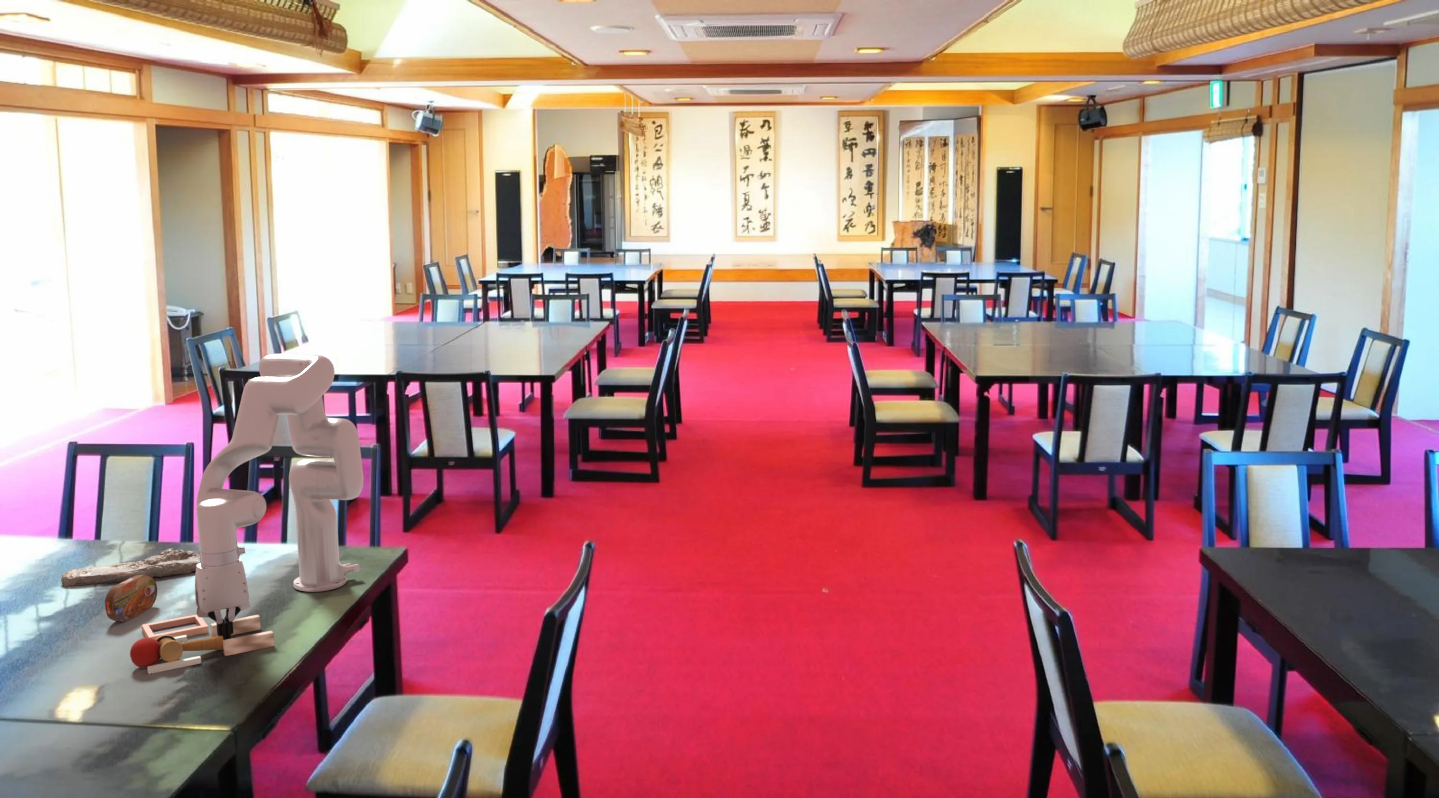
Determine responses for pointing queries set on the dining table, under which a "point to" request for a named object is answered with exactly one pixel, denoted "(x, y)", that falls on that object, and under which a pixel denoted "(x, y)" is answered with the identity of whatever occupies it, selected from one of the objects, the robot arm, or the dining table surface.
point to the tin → (131, 598)
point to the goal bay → (175, 663)
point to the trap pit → (176, 627)
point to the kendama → (168, 649)
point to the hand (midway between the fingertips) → (225, 637)
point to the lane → (247, 641)
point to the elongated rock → (135, 568)
